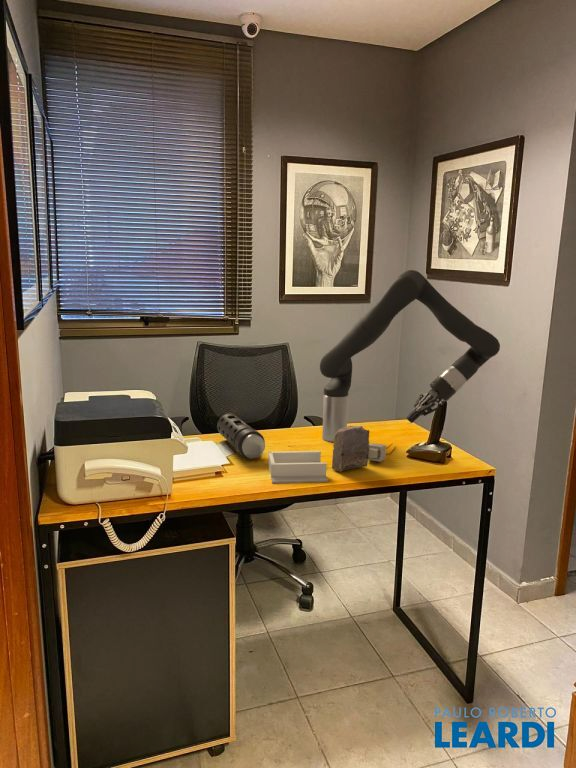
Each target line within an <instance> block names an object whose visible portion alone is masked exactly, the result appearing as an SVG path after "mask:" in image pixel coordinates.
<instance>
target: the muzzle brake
mask: <svg viewBox="0 0 576 768" xmlns="http://www.w3.org/2000/svg"><path fill="white" fill-rule="evenodd" d="M216 429H217V431H218V433H219V434H220V435H221V436H222V437H223V438H224V439H225V440H226V441H227V442H228V443H230V444H231V446H233V447H234V449H236V451H237V452H238V453H239V455H241V456H242V457H244V458H246V459H252V460H253V459H257V458H259V457H261V456H262V455H263V453H264V451H265V449H266V440H265V438H264V436H263V435H262V434H261V432H259V431H258V430H256V429H254V428H252V427H251V426H250V425H248V424H247V423H246V422H245V421H243V420H242V419H241V418H240V417H238V416H237V415H235V414H234V413H225V414H223V415H222V416H221V417H220V418H219V419H218V421H217V425H216Z"/></svg>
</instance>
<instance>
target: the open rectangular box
mask: <svg viewBox="0 0 576 768" xmlns="http://www.w3.org/2000/svg"><path fill="white" fill-rule="evenodd" d="M321 453H322V452H321V450H307V451H306V450H302V451H301V450H298V451H297V450H296V451H286V450H284V451H268V453H267V454H268V458H267V459H268V461H267V462H268V465H267V466H268V470H269V474H270V475H271V476H270V481H271V480H272V481H271V483H272V484H303V483H304V484H305V483H306V482H307V484H308V483H309V482H311V483H329V479H328V476H327V464H328V463H327V462H326V461H325V462H322V461H321V459H322V458H321V457H322V456H321V455H322V454H321ZM299 482H301V483H299ZM302 482H303V483H302Z"/></svg>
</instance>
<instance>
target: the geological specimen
mask: <svg viewBox="0 0 576 768" xmlns="http://www.w3.org/2000/svg"><path fill="white" fill-rule="evenodd" d="M333 441H334V442H333V444H332V445H333V449H332V461H331V462H332V463H331V469H332V470H334V471H336V472H340V473H341V472H343V471H344V470H345V471H346V470H347V471H348V470H352V469H357V468H362V467H365V468H367V467H368V465H369V463H368V462H369V460H368V449H369V444H370V430H369V429H365V428H364V427H363V426H362V425H359V426H358V425H347V427H344V428H341V429H339V431H338V432H337V433H336V435H335V437H334V439H333Z"/></svg>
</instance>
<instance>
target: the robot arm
mask: <svg viewBox="0 0 576 768" xmlns="http://www.w3.org/2000/svg"><path fill="white" fill-rule="evenodd" d="M415 300H417V301H419V302H420V303H421V304H423V305H424V306H425V307H426V308H427V309H428V310H429V311H430V312H431V313H432V314H433V316H434V317H435V318H436V320H437V321H438V322H439V324H440V325H441V326H442V327H443V328H444V329H445V330H446V331H447V332H448V333H449V334H451V335H453V336H454V338H456V339H458V340H459V341H460V342H462V343H465V344H467V345H469V346H470V347H469V348H468V349H467V350H466V352H465V353H464V354H463V355H461V356H459V357H458V358H457V360H455V361H454V362H453V363H452V364H451V365H450V366H448V367H447V368H446V369H444V370H443V371H442V372H441V373H440V374H439V375H438V376H437V377H436V378H435V379H434V380H433V381H432V382H430V384H429V387H430V388H431V389H430V390H429V391H427V392H426V393H425V394H422V393H421V394H419V396H418V398H417V399H416V401H415V402H414V405H413V410H412V411H411V412H410V413H409V414H408V415H407V416H406V418H405V419H407V421H409V422H410V424H413V423H414V422H415V421H416V420H417V419H418V418H419V417H420V416H423V417H425V416H427V415H429V414H431V413H434V412H435V411H438V410H439V408H440V407H439V406H438V405H439V404H440V403H441V402H442V401H444V402H447V401H449V400H450V399H451V398H452V397H453V396H454V395H455V394H456V393H457V392H459V391H460V390H461V389H462V388H463V387H464V385H465V384H466V383H467V382H468V381H469V380H470V379H471V378H472V377H473V376H474V375H475V374H476V373H477V372H478V371H479V369H480V368H481V367H482V366H483V365H484V364H485V363H486V362H488V361H489V360H490V359H491V358H493V357H495V356H496V355H498V353H499V352H500V348H501V345H500V341H499V339H497V337H496V336H494V335H493V334H492V333H490V332H489V331H487V330H485V329H484V328H482V327H481V326H479V325H477V324H476V323H474V322H473V321H472V320H471V319H470V318H468V317H467V316H466V315H465V314H463V312H461V311H459V309H457V308H456V307H455V306H454V305H452V304H451V303H450V302H449V301H448V300H447V299H446V298H445V297H444V296H443V295H442V294H441V293H440V292H439V291H438V290H437V289H436V288H435V287H434V286H433V285H432V284H431V283H430V282H429V280H427V278H426V277H425V276H424V275H423V274H422V273H420V272H419V271H418V270H414V269H410V270H406V271H404V272H402V273H401V274H400V275H398V276H397V277H396V278H394V280H393V282H392V283H391V284H390V286H389V287H388V289H387V290H386V292H385V293H384V295H383V296H382V297H381V298H380V299H379V300H378V302H377V303H375V304H374V305H373V306H372V307H370V308H369V309H368V310H367V311H366V312H365V313H364V314H363V315H362V316H361V317H360V318H359V319H358V321H357V322H355V324H354V325H353V326H352V327H351V329H350V330H349V331H348V332H347V333H346V334H345V335H344V336H343V337H342V339H341V340H340V341H339V342H338V343H337V344H335V345H334V346H333V347H332V348H331V349H330V350H328V351H327V353H326V354H324V355H323V356H322V358H321V359H320V363H319V370H320V371H319V372H320V373H321V375H322V376H324V377H325V378H328V379H330V381H329V382H328V383H327V384H326V385H325V386H324V388H323V400H322V401H323V403H322V404H323V406H322V407H323V408H322V409H323V411H322V432H321V433H322V434H321V436H322V437H321V439H322V440H323V441H327V442H332V443H334V441H333V439H334V437H335V435H336V433H337V432H338V431H339V429H341V428H344V427H348V413H349V412H348V410H349V391H350V388H351V385H352V377H353V361H352V358H353V357H354V356H355V355H357V354H360V352H363V351H364V350H366V349H367V348H369V347H370V346H372V345H373V344H374V343H375V342H376V341H377V340H378V339H379V338H380V337H381V336H382V335H383V334H385V331H386V330H387V328H388V327H389V326H390V324H391V323H392V321H393V319H394V318H395V317H396V316H397V315H398V314H399V313H400V312H401V311H402V310H403V309H404V308H406V307H407V306H408V305H410V304H411V303H413V302H415Z"/></svg>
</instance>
